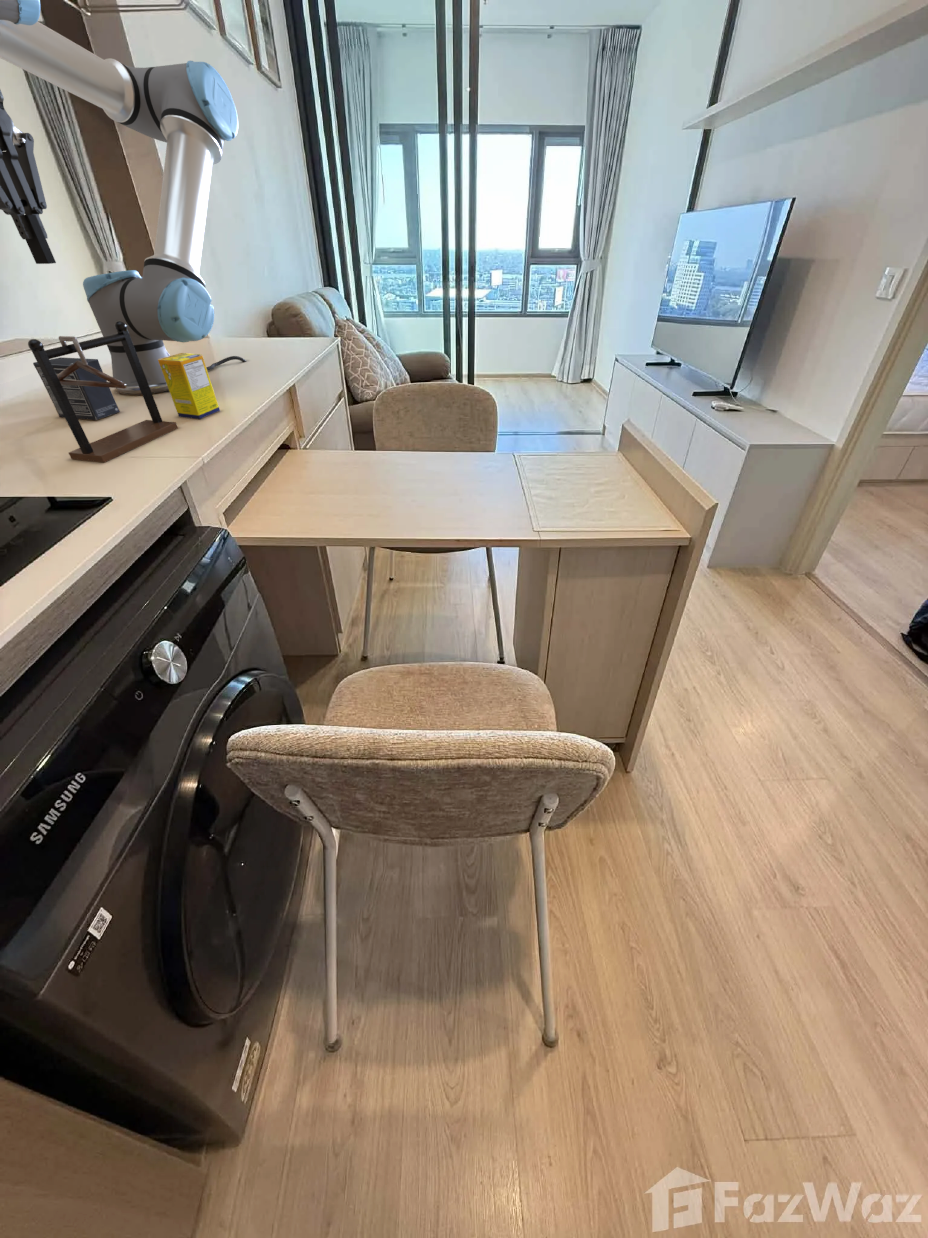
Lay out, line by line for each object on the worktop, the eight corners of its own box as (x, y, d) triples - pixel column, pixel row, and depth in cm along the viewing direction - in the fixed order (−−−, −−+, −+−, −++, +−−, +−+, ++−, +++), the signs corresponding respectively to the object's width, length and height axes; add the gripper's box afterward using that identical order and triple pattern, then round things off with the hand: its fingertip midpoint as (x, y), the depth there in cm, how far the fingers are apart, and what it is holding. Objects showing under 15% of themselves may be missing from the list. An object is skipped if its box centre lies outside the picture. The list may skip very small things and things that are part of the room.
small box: (122, 411, 108) (99, 357, 102) (97, 421, 103) (71, 365, 97) (85, 408, 111) (60, 355, 104) (58, 417, 106) (30, 362, 100)
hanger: (55, 383, 87) (31, 334, 82) (128, 387, 83) (107, 336, 79) (51, 384, 86) (26, 335, 81) (124, 389, 82) (103, 338, 78)
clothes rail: (149, 425, 101) (106, 319, 89) (178, 428, 99) (139, 320, 88) (71, 459, 87) (9, 339, 76) (103, 462, 85) (45, 340, 74)
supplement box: (199, 408, 109) (180, 352, 102) (220, 411, 107) (203, 353, 100) (177, 416, 105) (156, 358, 98) (200, 419, 103) (180, 360, 96)
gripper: (-18, 72, 78) (61, 260, 93) (-113, 53, 68) (-7, 266, 83) (20, 68, 76) (94, 260, 91) (-72, 47, 67) (28, 266, 81)
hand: (46, 263), depth 87 cm, fingers closed
